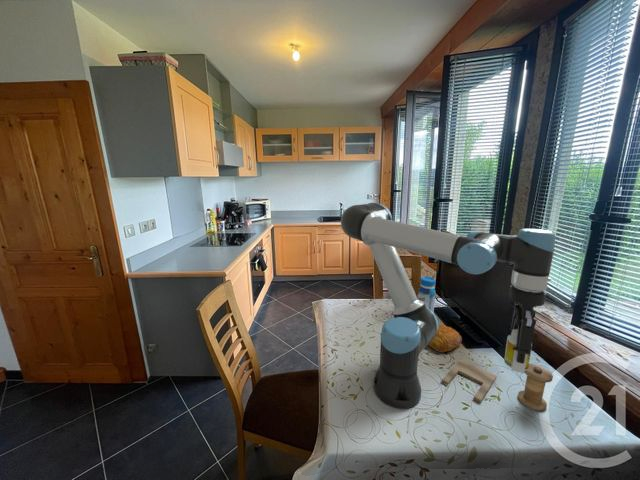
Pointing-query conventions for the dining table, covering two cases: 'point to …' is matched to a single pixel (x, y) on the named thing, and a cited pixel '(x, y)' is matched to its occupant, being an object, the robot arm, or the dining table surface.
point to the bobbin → (535, 387)
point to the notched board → (472, 377)
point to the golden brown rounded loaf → (445, 339)
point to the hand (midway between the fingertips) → (515, 364)
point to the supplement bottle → (510, 352)
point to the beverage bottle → (427, 292)
